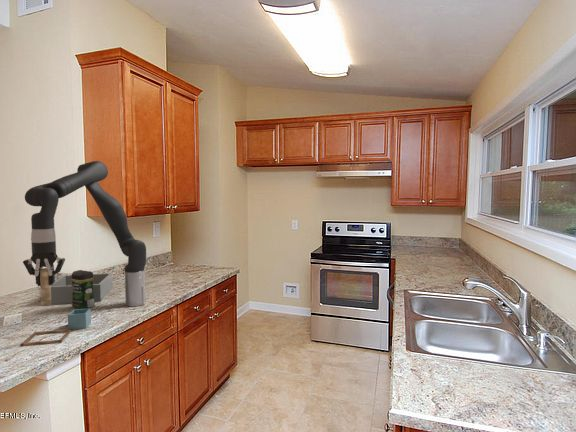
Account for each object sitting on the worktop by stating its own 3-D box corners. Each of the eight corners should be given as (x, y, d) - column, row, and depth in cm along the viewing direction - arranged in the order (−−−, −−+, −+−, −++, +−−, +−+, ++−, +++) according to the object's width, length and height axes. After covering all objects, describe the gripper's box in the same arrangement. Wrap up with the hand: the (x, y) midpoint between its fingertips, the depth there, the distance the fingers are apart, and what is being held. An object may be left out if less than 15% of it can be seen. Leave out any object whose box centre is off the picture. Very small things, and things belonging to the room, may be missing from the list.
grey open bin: (112, 288, 204) (112, 273, 203) (100, 301, 179) (100, 284, 178) (64, 290, 197) (64, 275, 197) (45, 304, 173) (44, 287, 172)
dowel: (52, 303, 133) (51, 267, 132) (49, 305, 130) (47, 269, 129) (43, 303, 132) (41, 268, 131) (39, 306, 129) (38, 270, 128)
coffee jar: (69, 308, 168) (67, 271, 167) (84, 303, 175) (83, 268, 174) (82, 311, 164) (81, 273, 163) (97, 306, 171) (96, 269, 170)
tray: (71, 332, 139) (71, 329, 139) (61, 344, 128) (61, 340, 128) (35, 335, 136) (34, 332, 136) (21, 348, 125) (20, 343, 125)
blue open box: (91, 324, 148) (90, 308, 148) (86, 330, 142) (85, 313, 141) (74, 325, 147) (73, 309, 146) (68, 331, 140) (67, 315, 140)
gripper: (68, 238, 135) (69, 281, 136) (27, 239, 131) (29, 283, 133) (60, 241, 128) (62, 286, 129) (16, 242, 124) (19, 288, 125)
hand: (45, 284), depth 131 cm, fingers closed on dowel, 3 cm apart
